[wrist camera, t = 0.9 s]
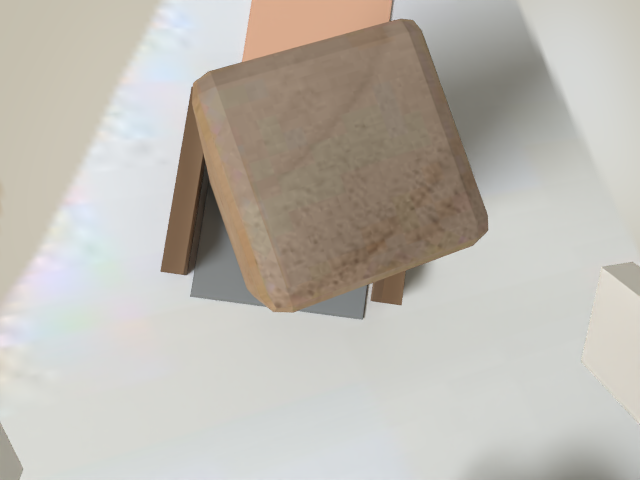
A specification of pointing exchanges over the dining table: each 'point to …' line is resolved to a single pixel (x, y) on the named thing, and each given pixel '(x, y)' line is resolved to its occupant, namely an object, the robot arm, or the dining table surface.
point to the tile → (307, 22)
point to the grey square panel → (226, 278)
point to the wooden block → (336, 164)
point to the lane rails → (187, 210)
